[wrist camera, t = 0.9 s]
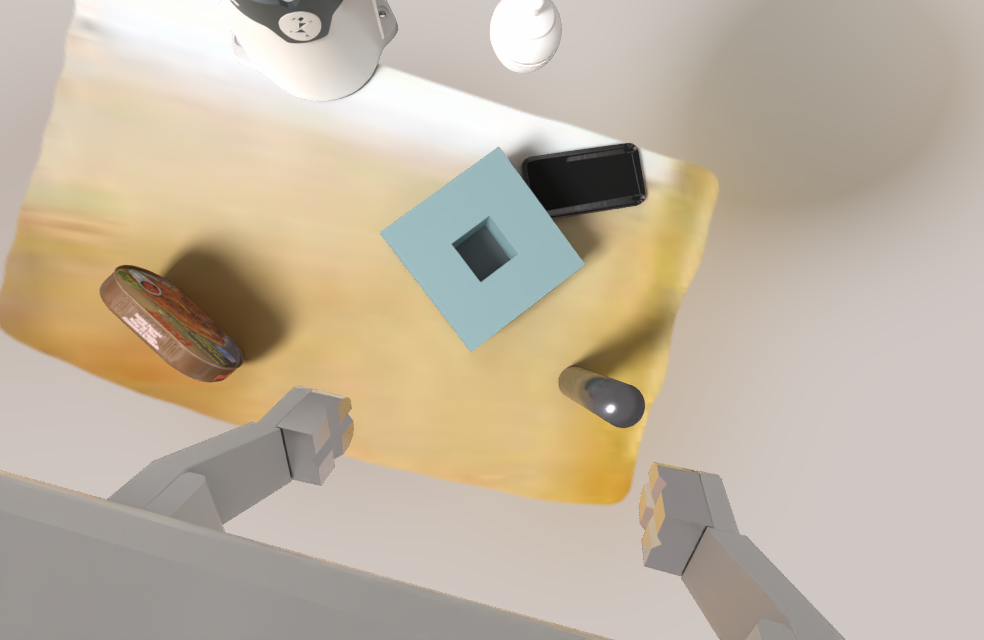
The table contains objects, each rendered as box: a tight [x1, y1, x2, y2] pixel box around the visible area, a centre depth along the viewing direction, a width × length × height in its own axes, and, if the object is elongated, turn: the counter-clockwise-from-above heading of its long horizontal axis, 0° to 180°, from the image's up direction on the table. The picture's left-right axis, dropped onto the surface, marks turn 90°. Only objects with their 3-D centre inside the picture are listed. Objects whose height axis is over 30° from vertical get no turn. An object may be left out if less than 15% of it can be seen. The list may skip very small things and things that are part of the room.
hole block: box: [380, 147, 585, 352], centre depth 49 cm, size 16×16×6 cm
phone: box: [522, 143, 646, 219], centre depth 54 cm, size 8×1×15 cm
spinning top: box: [490, 0, 562, 73], centre depth 47 cm, size 8×8×12 cm
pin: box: [559, 366, 645, 428], centre depth 46 cm, size 4×4×15 cm
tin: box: [100, 265, 243, 382], centre depth 45 cm, size 15×3×8 cm, turn 44°
